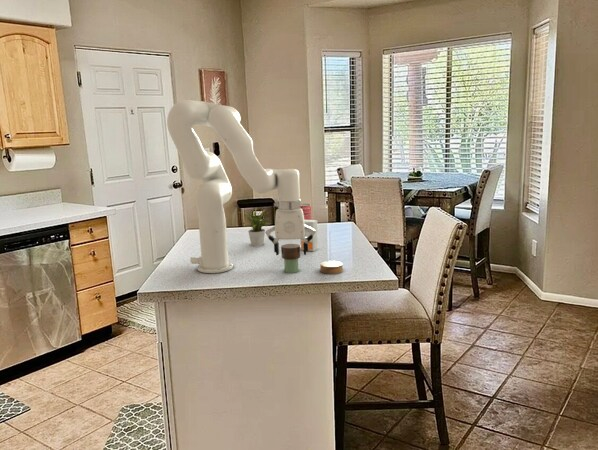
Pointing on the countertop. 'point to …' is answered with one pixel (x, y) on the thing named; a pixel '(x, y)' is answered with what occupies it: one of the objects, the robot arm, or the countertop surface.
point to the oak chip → (331, 267)
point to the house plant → (257, 228)
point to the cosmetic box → (314, 241)
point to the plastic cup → (291, 265)
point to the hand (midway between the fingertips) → (291, 254)
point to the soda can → (306, 211)
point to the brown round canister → (290, 251)
